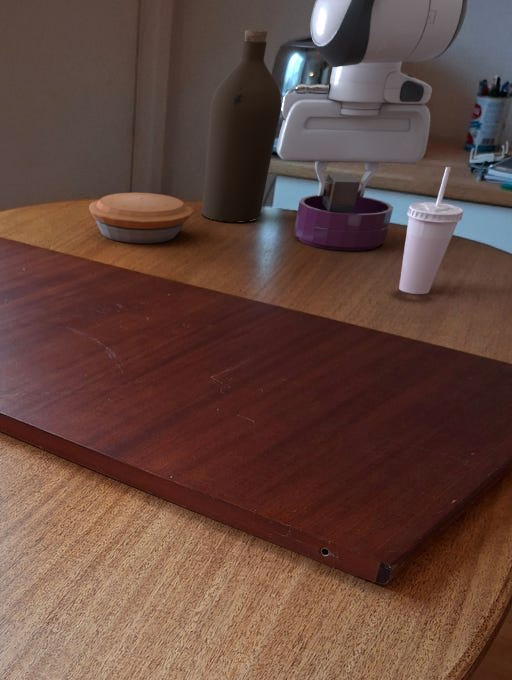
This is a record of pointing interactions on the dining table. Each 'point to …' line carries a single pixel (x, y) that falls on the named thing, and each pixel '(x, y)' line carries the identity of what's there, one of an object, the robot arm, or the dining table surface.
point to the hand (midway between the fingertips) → (340, 196)
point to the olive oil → (241, 136)
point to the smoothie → (427, 241)
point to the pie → (140, 217)
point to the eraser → (341, 193)
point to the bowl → (343, 224)
